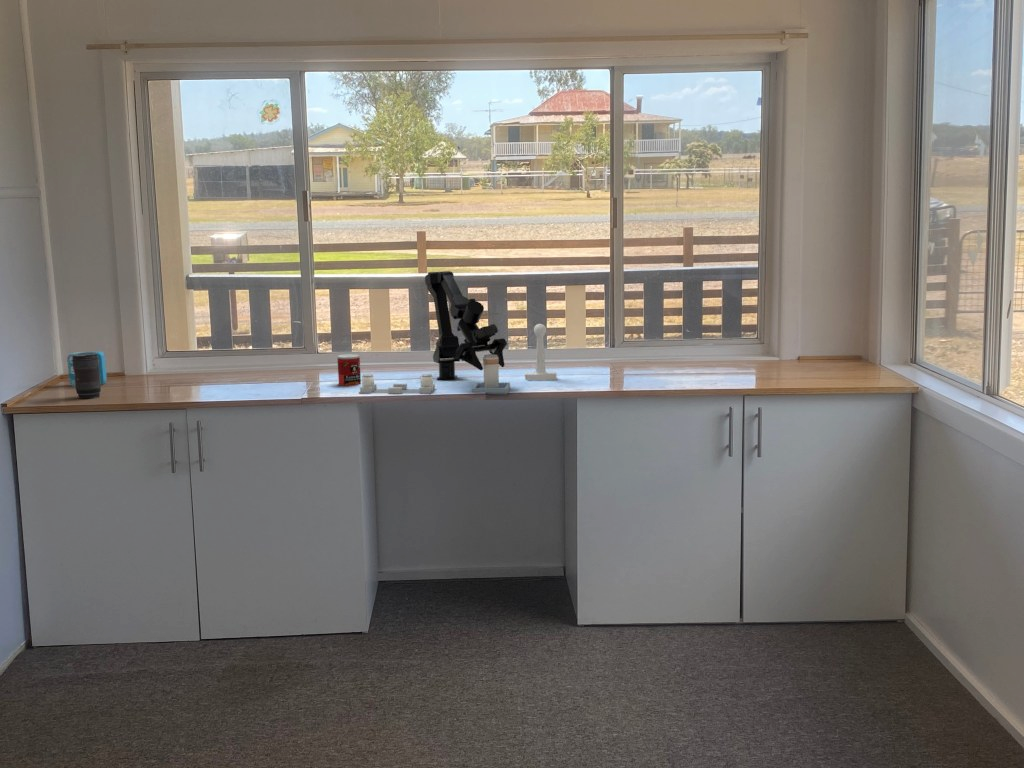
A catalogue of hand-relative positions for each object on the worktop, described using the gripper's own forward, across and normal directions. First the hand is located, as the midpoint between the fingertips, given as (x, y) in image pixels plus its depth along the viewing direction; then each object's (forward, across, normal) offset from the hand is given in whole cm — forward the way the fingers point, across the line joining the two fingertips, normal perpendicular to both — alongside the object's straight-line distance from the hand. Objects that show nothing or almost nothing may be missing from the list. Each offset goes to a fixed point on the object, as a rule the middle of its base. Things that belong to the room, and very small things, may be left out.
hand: (492, 367), depth 338 cm
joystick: (0, +28, +12) cm, 31 cm away
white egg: (-14, -32, +24) cm, 42 cm away
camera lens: (-60, -102, +72) cm, 138 cm away
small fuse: (-4, -18, +14) cm, 23 cm away
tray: (+5, 0, +6) cm, 8 cm away
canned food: (-26, -28, +38) cm, 54 cm away
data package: (-79, -93, +91) cm, 152 cm away
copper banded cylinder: (+4, 0, +6) cm, 8 cm away
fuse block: (-8, -25, +20) cm, 33 cm away
